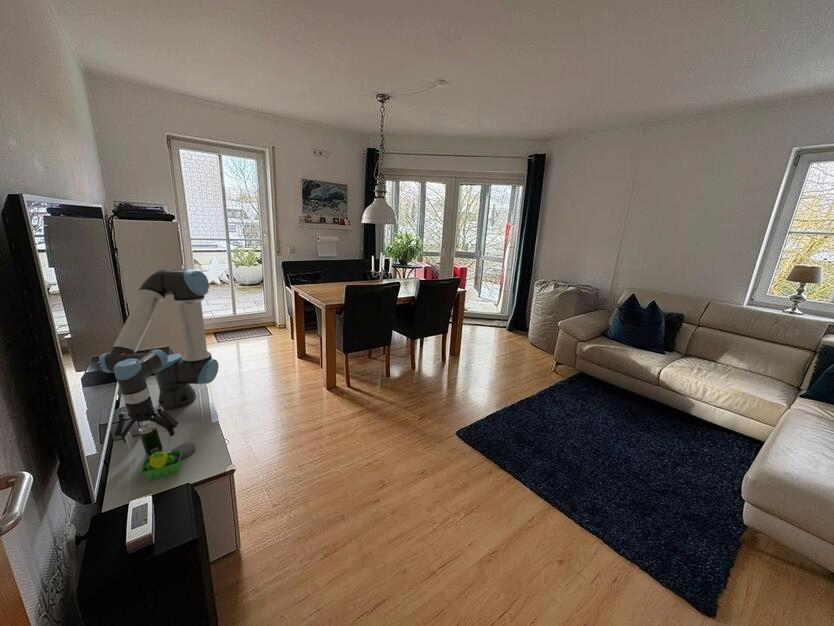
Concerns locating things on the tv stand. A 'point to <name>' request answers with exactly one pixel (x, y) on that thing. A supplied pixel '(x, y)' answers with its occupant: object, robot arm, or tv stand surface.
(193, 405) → the tv stand surface
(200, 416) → the tv stand surface
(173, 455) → the fruit basket
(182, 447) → the coaster
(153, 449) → the beer can
